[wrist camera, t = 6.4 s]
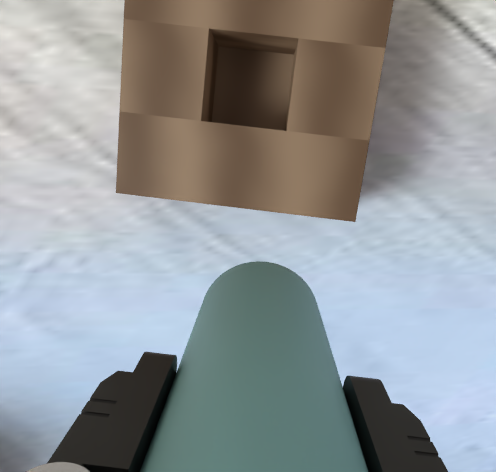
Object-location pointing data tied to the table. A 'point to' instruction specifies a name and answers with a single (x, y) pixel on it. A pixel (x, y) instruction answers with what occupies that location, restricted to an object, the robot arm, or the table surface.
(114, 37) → the table surface
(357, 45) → the bore block
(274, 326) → the pin
